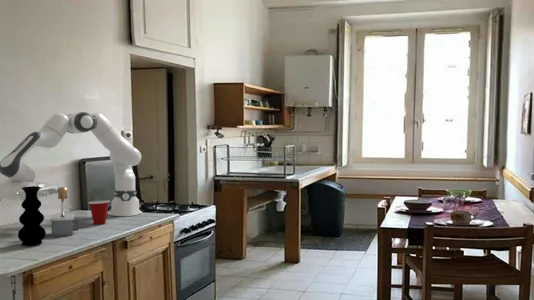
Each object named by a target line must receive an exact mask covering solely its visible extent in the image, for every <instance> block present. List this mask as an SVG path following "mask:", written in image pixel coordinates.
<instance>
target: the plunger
mask: <svg viewBox="0 0 534 300" xmlns="http://www.w3.org/2000/svg"><path fill="white" fill-rule="evenodd" d="M57 199H58V200H61V201H60V203H61V204H60V205H61V207H60V210H61V213H60V214H61V217H64V214H65V199H68V187H67V186H65V187H64V186H60V187H58V193H57Z"/></svg>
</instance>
